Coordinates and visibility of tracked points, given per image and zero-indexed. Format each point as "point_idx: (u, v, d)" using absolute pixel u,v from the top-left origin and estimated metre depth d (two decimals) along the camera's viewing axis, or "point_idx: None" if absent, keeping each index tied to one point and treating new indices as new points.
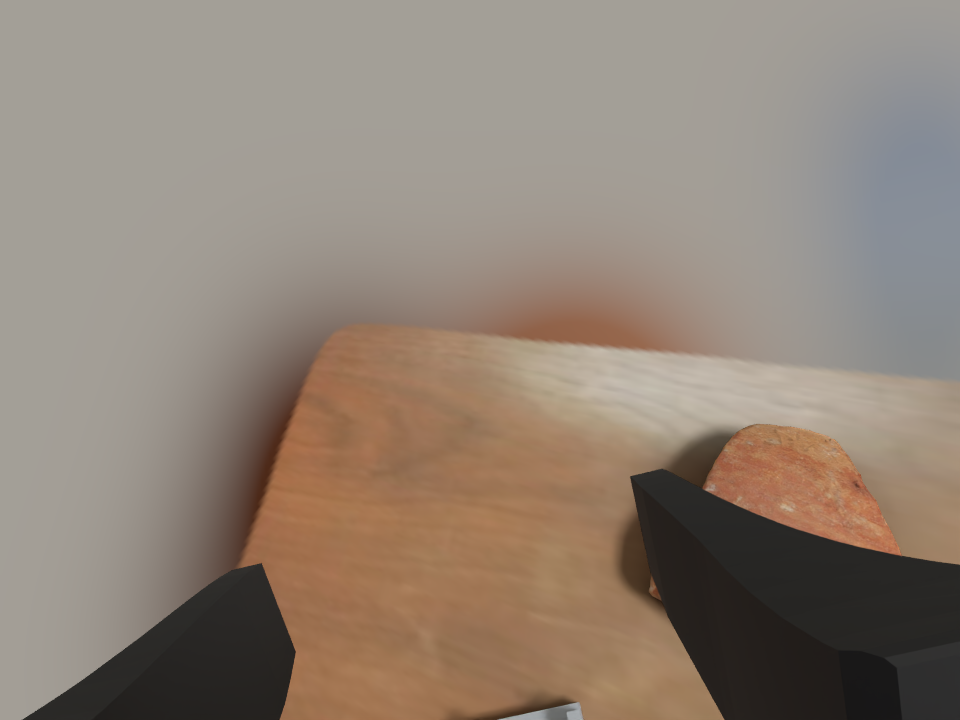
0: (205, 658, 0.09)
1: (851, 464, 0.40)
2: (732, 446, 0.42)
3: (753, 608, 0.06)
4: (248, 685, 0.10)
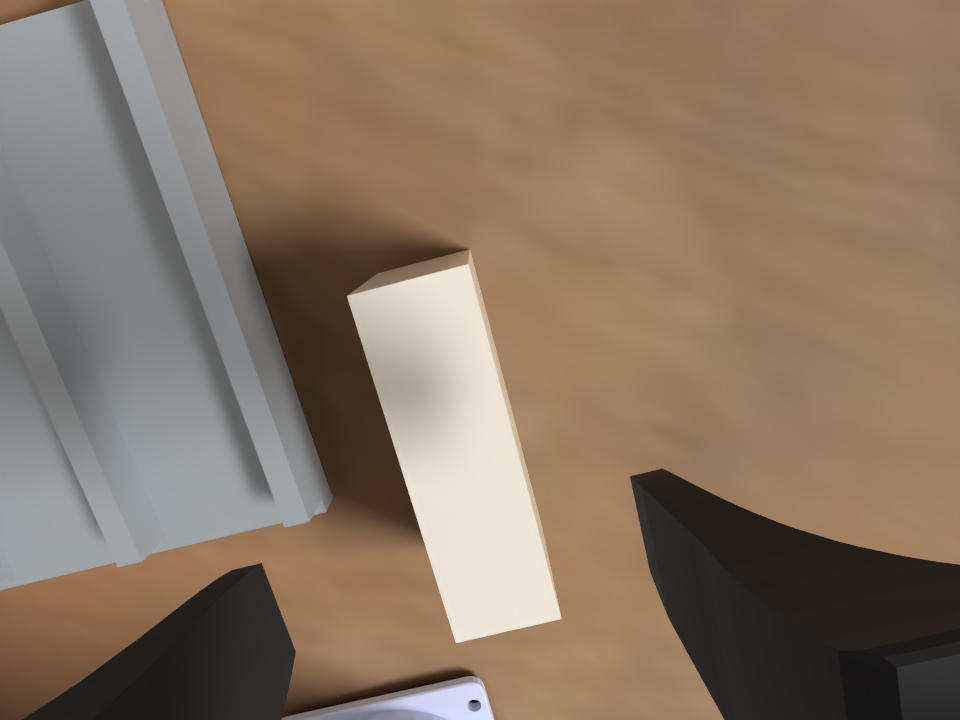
0: (205, 658, 0.09)
1: None
2: None
3: (753, 608, 0.06)
4: (248, 685, 0.10)
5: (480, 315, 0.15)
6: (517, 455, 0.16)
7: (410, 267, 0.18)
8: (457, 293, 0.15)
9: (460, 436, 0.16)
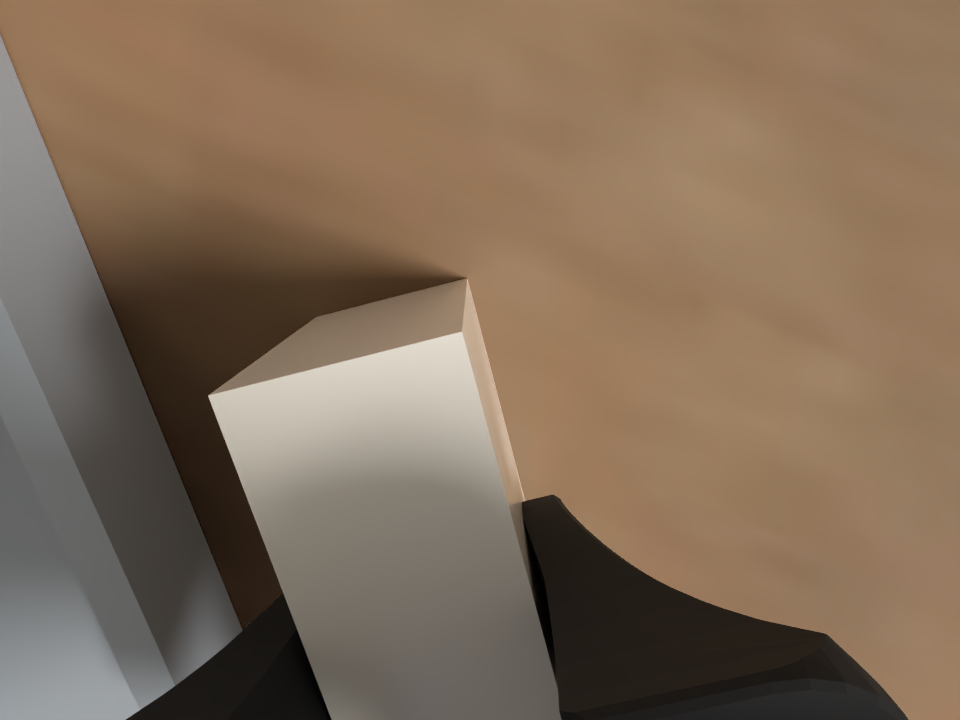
0: None
1: None
2: None
3: None
4: None
5: (486, 434, 0.07)
6: (556, 693, 0.08)
7: (364, 313, 0.11)
8: (438, 390, 0.07)
9: (446, 661, 0.08)
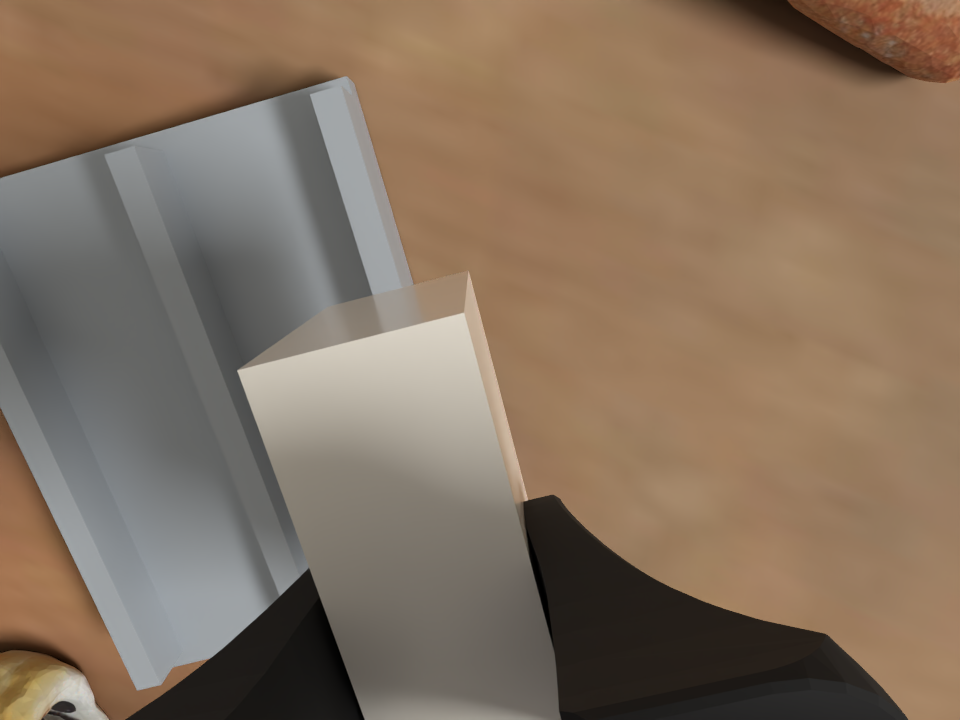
0: None
1: None
2: None
3: None
4: None
5: (486, 405, 0.08)
6: (550, 644, 0.09)
7: (373, 302, 0.12)
8: (444, 365, 0.08)
9: (449, 613, 0.09)
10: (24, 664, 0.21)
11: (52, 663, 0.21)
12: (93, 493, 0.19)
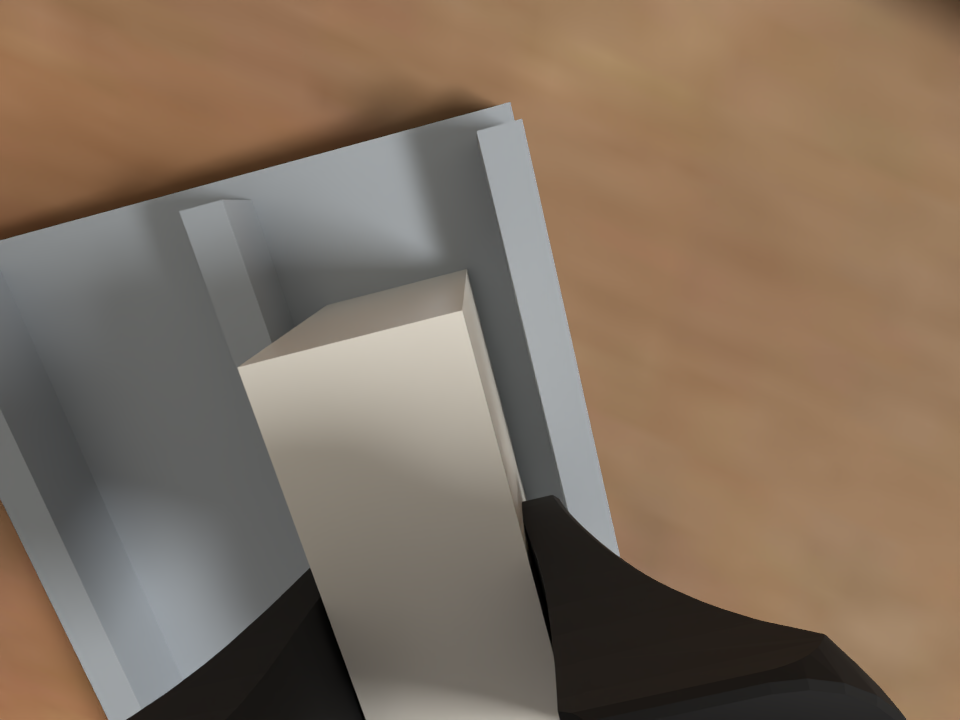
0: None
1: None
2: None
3: None
4: None
5: (484, 402, 0.08)
6: (547, 638, 0.09)
7: (372, 300, 0.12)
8: (441, 363, 0.08)
9: (448, 608, 0.09)
10: None
11: None
12: (143, 645, 0.14)
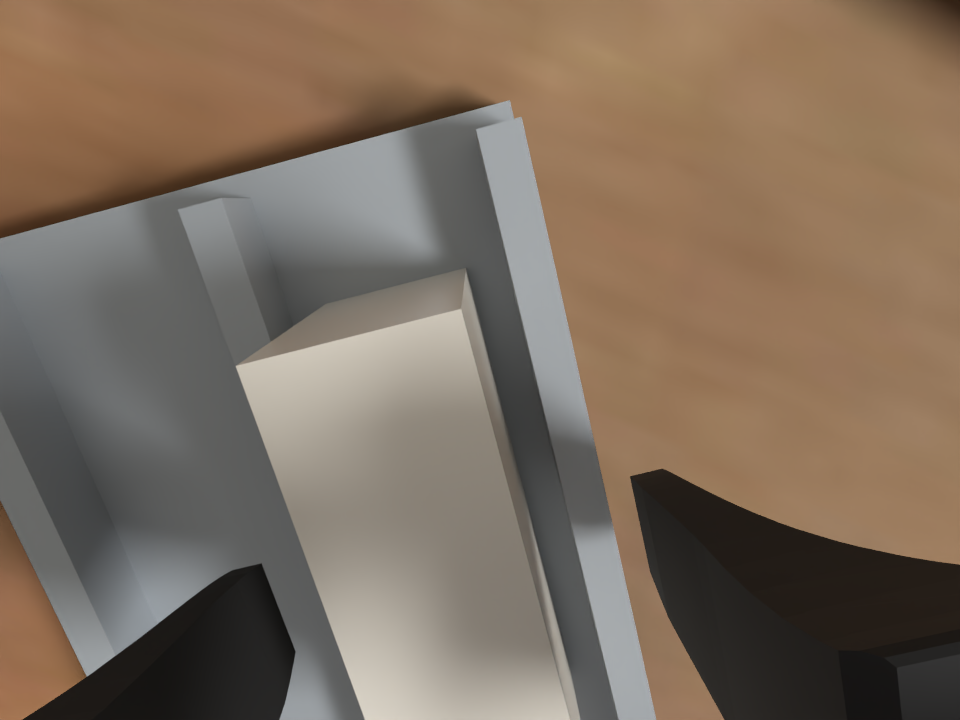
0: (205, 658, 0.09)
1: None
2: None
3: (752, 607, 0.06)
4: (248, 685, 0.10)
5: (483, 401, 0.08)
6: (546, 638, 0.09)
7: (371, 298, 0.12)
8: (440, 361, 0.08)
9: (447, 608, 0.09)
10: None
11: None
12: None
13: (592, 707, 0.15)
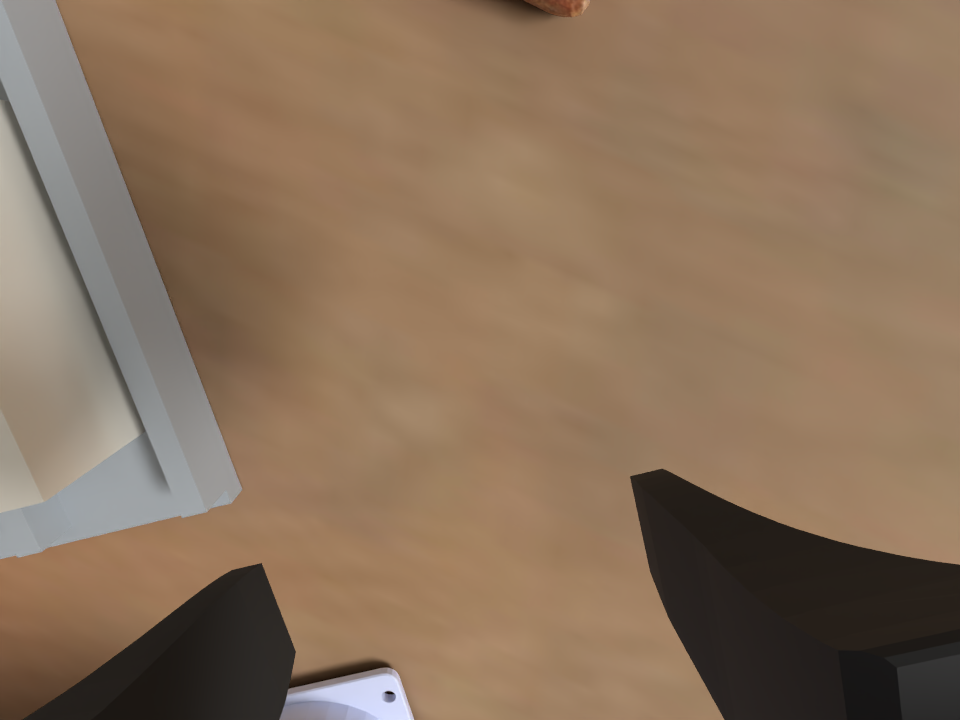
0: (205, 658, 0.09)
1: None
2: None
3: (753, 608, 0.06)
4: (248, 685, 0.10)
5: None
6: None
7: None
8: None
9: None
10: None
11: None
12: None
13: None
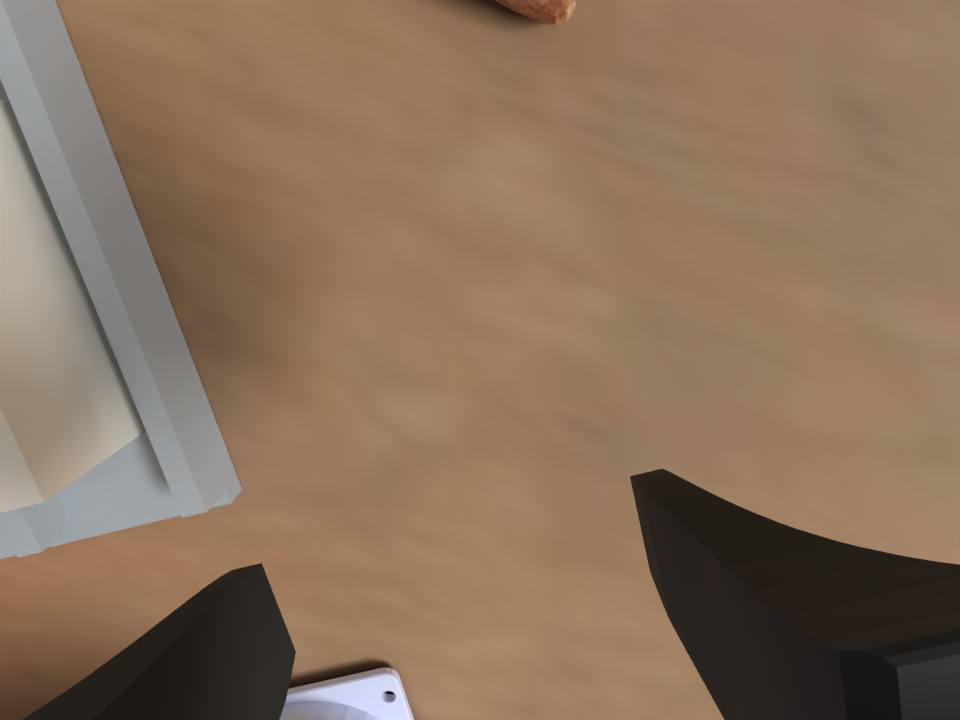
0: (205, 658, 0.09)
1: None
2: None
3: (753, 608, 0.06)
4: (248, 685, 0.10)
5: None
6: None
7: None
8: None
9: None
10: None
11: None
12: None
13: None
